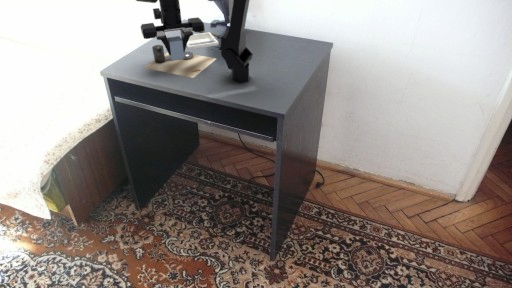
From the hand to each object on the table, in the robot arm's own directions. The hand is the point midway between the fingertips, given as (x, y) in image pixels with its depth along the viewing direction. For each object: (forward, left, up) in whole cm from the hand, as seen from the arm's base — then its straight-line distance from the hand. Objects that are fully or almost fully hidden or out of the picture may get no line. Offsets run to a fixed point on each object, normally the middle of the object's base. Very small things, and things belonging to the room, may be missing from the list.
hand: (176, 54), depth 114 cm
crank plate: (+4, -2, -7) cm, 8 cm away
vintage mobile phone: (+28, -31, -7) cm, 42 cm away
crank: (+8, 0, -5) cm, 10 cm away
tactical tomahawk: (+34, -18, -7) cm, 40 cm away
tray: (+21, -13, -7) cm, 25 cm away
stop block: (0, 0, -1) cm, 1 cm away
